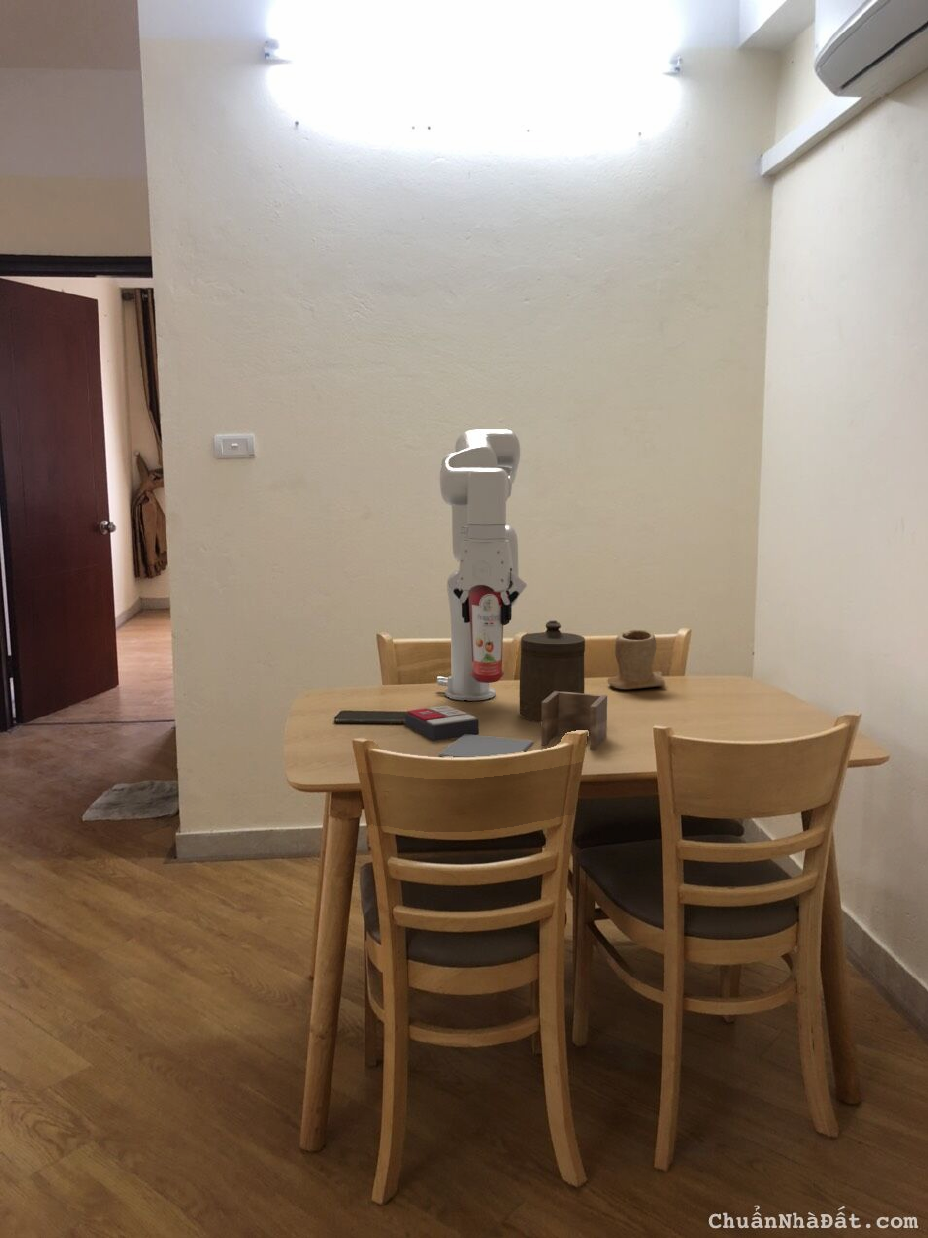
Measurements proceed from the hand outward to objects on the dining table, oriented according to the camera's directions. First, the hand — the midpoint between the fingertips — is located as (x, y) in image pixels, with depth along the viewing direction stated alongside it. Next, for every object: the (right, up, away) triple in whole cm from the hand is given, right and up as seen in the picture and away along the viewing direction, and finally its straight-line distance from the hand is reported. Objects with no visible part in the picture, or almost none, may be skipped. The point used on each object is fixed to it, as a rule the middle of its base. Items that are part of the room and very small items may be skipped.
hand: (486, 622), depth 191 cm
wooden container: (+16, -22, +31) cm, 41 cm away
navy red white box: (-10, -24, +20) cm, 33 cm away
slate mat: (0, -26, +4) cm, 26 cm away
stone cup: (+40, -17, +57) cm, 72 cm away
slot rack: (+18, -25, +10) cm, 33 cm away
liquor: (0, -12, +2) cm, 12 cm away
